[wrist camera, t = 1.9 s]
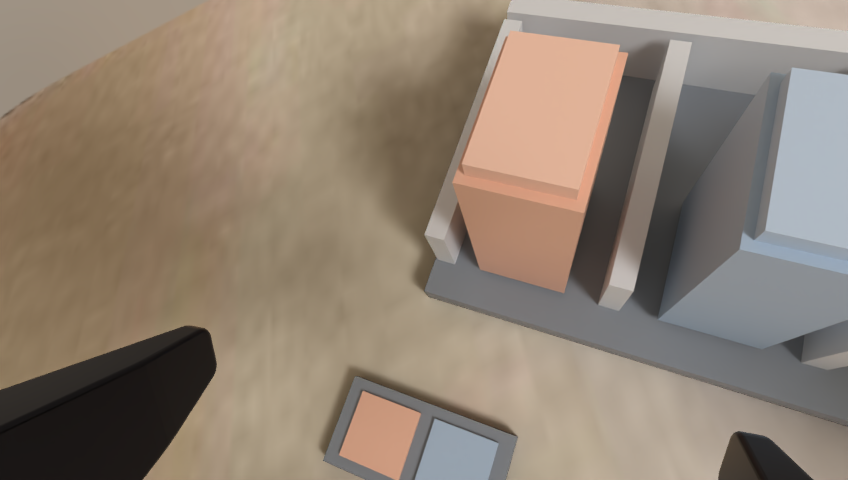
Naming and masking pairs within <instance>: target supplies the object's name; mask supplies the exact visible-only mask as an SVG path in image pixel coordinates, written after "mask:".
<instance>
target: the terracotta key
mask: <svg viewBox="0 0 848 480" xmlns="http://www.w3.org/2000/svg"><path fill="white" fill-rule="evenodd" d="M619 48H620V45H617V44H610V43H602V42H594V41H587V40H579V39H572V38H564V37H556V36H549V35H541V34H534V33H526V32H518V31H511V30H510V33H509V35H508V37H507V36H506V37H505V40H504V42H503V45H502V48H501V51H500V53H499V56H498V59H497V62H496V64H495V67H494V70H493V73H492V75H491V78H490V81H489V83H488V86H487V89H486V92H485V94H484V97H483V100H482V103H481V105H480V108H479V111H478V114H477V116H476V119H475V122H474V125H473V127H472V130H471V133H470V135H469V138H468V141H467V144H466V146H465V149H464V152H463V155H462V157H461V160H460V163H459V166H458V168H457V171H456V174H455V176H454V179H453V182H452V183H453V186H454V190H455V193H456V196H457V199H458V202H459V205H460V208H461V212H462V215H463V218H464V221H465V224H466V227H467V230H468V234H469V237H470V240H471V243H472V246H473V249H474V253H475V256H476V259H477V262H478V265H479V268H480V270H483V271H487V272H490V273H494V274H497V275H501V276H504V277H508V278H511V279H515V280H518V281H522V282H525V283H529V284H533V285H536V286H540V287H543V288H547V289H550V290H554V291H557V292H561V293H564V292H565V288H566V284H567V281H568V277H569V274H570V270H571V266H572V263H573V259H574V255H575V252H576V248H577V245H578V241H579V237H580V234H581V230H582V226H583V223H584V219H585V216H586V212H587V208H588V205H589V201H590V197H591V194H592V190H593V187H594V183H595V179H596V175H597V171H598V168H599V164H600V160H601V156H602V152H603V148H604V145H605V141H606V137H607V133H608V129H609V125H610V122H611V118H612V114H613V110H614V106H615V102H616V99H617V95H618V91H619V87H620V83H621V79H622V75H623V72H624V68H625V64H626V60H627V56H628V53H626V52H619Z"/></svg>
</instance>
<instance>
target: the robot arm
mask: <svg viewBox="0 0 848 480" xmlns="http://www.w3.org/2000/svg"><path fill="white" fill-rule="evenodd" d="M216 366H217V363H216V358H215V353H214V348H213V344H212V339H211V335H210V333H209V332H208V330H206V329H205V328H200V327H195V326H183V327H180V328H177V329H175V330H172V331H169V332H166V333H163V334H160V335H157V336H154V337H152V338H149V339H146V340H143V341H140V342H137V343H134V344H131V345H129V346H126V347H123V348H120V349H117V350H114V351H111V352H109V353H106V354H103V355H100V356H97V357H94V358H91V359H88V360H86V361H83V362H80V363H77V364H74V365H71V366H68V367H65V368H63V369H60V370H57V371H54V372H51V373H48V374H45V375H43V376H40V377H37V378H34V379H31V380H28V381H25V382H22V383H20V384H17V385H14V386H11V387H8V388H5V389H2V390H0V480H143V479H144V477H145V476H146V475H147V474H148V472H149V471H150V470H151V468H152V467H153V466H154V464H155V463H156V462H157V461H158V459H159V458H160V457H161V455H162V454H163V453H164V451H165V450H166V449H167V447H168V446H169V444H170V443H171V441H172V440H173V439H174V437H175V436H176V434H177V433H178V431H179V429H180V428H181V426H182V425H183V423H184V422H185V420H186V418H187V417H188V415H189V414H190V412H191V411H192V409H193V408H194V406H195V404H196V403H197V401H198V400H199V398H200V397H201V395H202V393H203V392H204V390H205V389H206V387H207V386H208V384H209V383H210V381H211V379H212V378H213V376H214V374H215V371H216ZM718 480H813V479H812V478H811V477H810V476H809V475H808V474H807V473H806V472H804V471H803V470H802V469H801V468H800V467H799V466H798V465H797V464H796V463H795V462H794V461H793V460H792V459H791V458H790V457H789V456H788V455H787V454H786V453H784V452H783V451H782V450H781V449H780V448H779V447H778V446H777V445H776V444H775V443H774V442H773V441H772V440H770V439H769V438H767V437H765V436H761V435H756V434H751V433H746V432H740V431H738V432H735V433H734V434H733V435H732V436H731V438H730V441H729V444H728V447H727V450H726V453H725V456H724V459H723V462H722V465H721V468H720V471H719V477H718Z"/></svg>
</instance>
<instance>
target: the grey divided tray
mask: <svg viewBox="0 0 848 480" xmlns="http://www.w3.org/2000/svg"><path fill="white" fill-rule="evenodd" d="M510 30H511V31H518V32H526V33H534V34H541V35H549V36H556V37H564V38H572V39H579V40H587V41H594V42H602V43H610V44H617V45H620V48H619V52H626V53H628V56H627V60H626V64H625V68H624V72H623V75H622V79H621V83H620V87H619V91H618V95H617V99H616V102H615V106H614V110H613V114H612V118H611V122H610V125H609V129H608V133H607V137H606V141H605V145H604V148H603V152H602V156H601V160H600V164H599V168H598V171H597V175H596V179H595V183H594V187H593V190H592V194H591V197H590V201H589V205H588V208H587V212H586V216H585V219H584V223H583V226H582V230H581V234H580V237H579V241H578V245H577V248H576V252H575V255H574V259H573V263H572V266H571V270H570V274H569V277H568V281H567V284H566V288H565V292H564V293H561V292H557V291H554V290H550V289H547V288H543V287H540V286H536V285H533V284H529V283H525V282H522V281H518V280H515V279H511V278H508V277H504V276H501V275H497V274H494V273H490V272H487V271H483V270H480V268H479V265H478V262H477V259H476V256H475V253H474V249H473V246H472V243H471V240H470V237H469V234H468V230H467V227H466V224H465V221H464V218H463V215H462V212H461V208H460V205H459V202H458V199H457V196H456V193H455V190H454V186H453V183H452V182H453V179H454V176H455V174H456V171H457V168H458V166H459V163H460V160H461V157H462V155H463V152H464V149H465V146H466V144H467V141H468V138H469V135H470V133H471V130H472V127H473V125H474V122H475V119H476V116H477V114H478V111H479V108H480V105H481V103H482V100H483V97H484V94H485V92H486V89H487V86H488V83H489V81H490V78H491V75H492V73H493V70H494V67H495V64H496V62H497V59H498V56H499V53H500V51H501V48H502V45H503V42H504V40H505V37H506V36H507V37H508V35H509V33H510ZM791 68H800V69H807V70H815V71H822V72H830V73H838V74H845V75H848V31H845V30H835V29H826V28H817V27H808V26H799V25H790V24H780V23H771V22H762V21H753V20H744V19H735V18H726V17H716V16H707V15H698V14H689V13H680V12H671V11H662V10H652V9H643V8H634V7H625V6H616V5H607V4H598V3H588V2H579V1H570V0H511V2H510V5H509V8H508V10H507V19H504V21H503V24H502V27H501V29H500V32H499V35H498V37H497V40H496V43H495V45H494V48H493V51H492V54H491V56H490V59H489V62H488V64H487V67H486V70H485V72H484V75H483V78H482V81H481V83H480V86H479V89H478V91H477V94H476V97H475V99H474V102H473V105H472V107H471V110H470V113H469V116H468V118H467V121H466V124H465V126H464V129H463V132H462V134H461V137H460V140H459V143H458V145H457V148H456V151H455V153H454V156H453V159H452V161H451V164H450V167H449V169H448V172H447V175H446V178H445V180H444V183H443V186H442V188H441V191H440V194H439V196H438V199H437V202H436V205H435V207H434V210H433V213H432V215H431V218H430V221H429V223H428V226H427V229H426V232H425V234H424V235H425V237H426V239H427V241H428V243H429V244H430V246H431V248H432V250H433V252H434V254H435V255H436V259H435V262H434V265H433V268H432V271H431V273H430V276H429V279H428V282H427V284H426V287H425V290H424V291H425V293H426V294H427V295H428V297H431V298H434V299H438V300H441V301H444V302H447V303H451V304H454V305H457V306H460V307H464V308H467V309H470V310H473V311H476V312H480V313H483V314H486V315H489V316H493V317H496V318H499V319H502V320H506V321H509V322H512V323H515V324H518V325H522V326H525V327H528V328H531V329H535V330H538V331H541V332H544V333H548V334H551V335H554V336H557V337H561V338H564V339H567V340H570V341H573V342H577V343H580V344H583V345H586V346H590V347H593V348H596V349H599V350H603V351H606V352H609V353H612V354H615V355H619V356H622V357H625V358H628V359H632V360H635V361H638V362H641V363H645V364H648V365H651V366H654V367H658V368H661V369H664V370H667V371H670V372H674V373H677V374H680V375H683V376H687V377H690V378H693V379H696V380H700V381H703V382H706V383H709V384H712V385H716V386H719V387H722V388H725V389H729V390H732V391H735V392H738V393H742V394H745V395H748V396H751V397H754V398H758V399H761V400H764V401H767V402H771V403H774V404H777V405H780V406H784V407H787V408H790V409H793V410H797V411H800V412H803V413H806V414H809V415H813V416H816V417H819V418H822V419H826V420H829V421H832V422H835V423H839V424H842V425H845V426H848V320H846V321H843V322H840V323H837V324H834V325H831V326H828V327H825V328H822V329H819V330H816V331H814V332H811V333H808V334H805V335H802V336H799V337H796V338H793V339H790V340H787V341H784V342H781V343H779V344H776V345H773V346H770V347H767V348H764V349H759V348H755V347H752V346H748V345H745V344H741V343H738V342H734V341H731V340H727V339H724V338H720V337H717V336H713V335H709V334H706V333H702V332H699V331H695V330H692V329H688V328H685V327H681V326H678V325H674V324H671V323H667V322H663V321H660V320H658V315H659V310H660V306H661V301H662V297H663V292H664V287H665V283H666V278H667V274H668V269H669V264H670V260H671V255H672V251H673V246H674V241H675V237H676V232H677V228H678V223H679V218H680V214H681V209H682V205H683V202H684V200H685V199H686V197H687V196H688V194H689V193H690V191H691V190H692V188H693V187H694V185H695V184H696V183H697V181H698V180H699V178H700V177H701V175H702V174H703V172H704V171H705V169H706V168H707V166H708V165H709V163H710V162H711V160H712V159H713V157H714V156H715V154H716V153H717V151H718V150H719V148H720V147H721V145H722V144H723V143H724V141H725V140H726V138H727V137H728V135H729V134H730V132H731V131H732V129H733V128H734V126H735V125H736V123H737V122H738V120H739V119H740V117H741V116H742V114H743V113H744V111H745V110H746V108H747V107H748V105H749V104H750V102H751V101H752V100H753V98H754V97H755V95H756V94H757V92H758V91H759V89H760V88H761V86H762V85H763V83H764V82H765V80H766V79H767V77H768V76H769V74H770V73H771V72H773V73H781V74H787V73H788V72H789V71H790V69H791Z"/></svg>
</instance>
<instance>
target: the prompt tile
mask: <svg viewBox="0 0 848 480" xmlns="http://www.w3.org/2000/svg"><path fill="white" fill-rule="evenodd" d="M517 438H518V437H517V436H514V435H512V434H509V433H506V432H504V431H501V430H498V429H496V428H493V427H491V426H488V425H485V424H483V423H480V422H477V421H475V420H472V419H469V418H467V417H464V416H461V415H459V414H456V413H453V412H451V411H448V410H445V409H443V408H440V407H438V406H435V405H432V404H430V403H427V402H424V401H422V400H419V399H416V398H414V397H411V396H408V395H406V394H403V393H400V392H398V391H395V390H393V389H390V388H387V387H385V386H382V385H379V384H377V383H374V382H371V381H369V380H366V379H363V378H361V377H358V376H355V378H354V380H353V383H352V386H351V388H350V391H349V394H348V396H347V399H346V401H345V404H344V407H343V409H342V412H341V415H340V417H339V420H338V422H337V425H336V428H335V430H334V433H333V436H332V438H331V441H330V443H329V446H328V449H327V451H326V454H325V457H324V459H323V461H325V462H327V463H329V464H331V465H334V466H336V467H338V468H340V469H343V470H345V471H347V472H349V473H352V474H354V475H356V476H358V477H361V478H363V479H365V480H506V477H507V474H508V470H509V467H510V463H511V459H512V456H513V452H514V449H515V445H516V441H517Z"/></svg>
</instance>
